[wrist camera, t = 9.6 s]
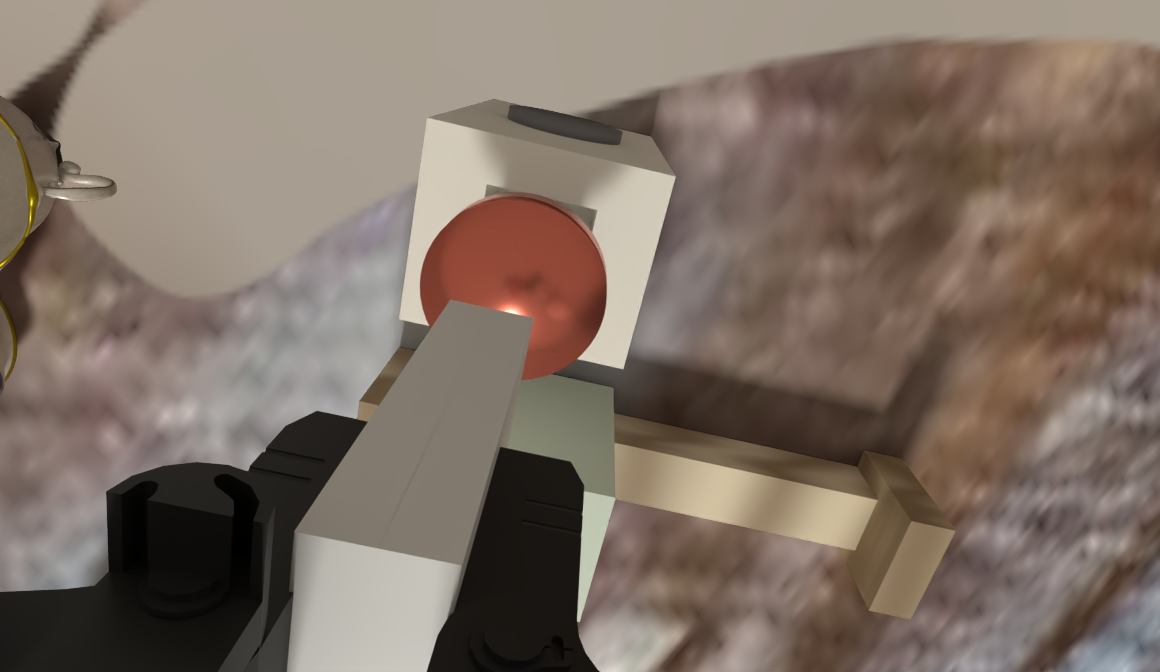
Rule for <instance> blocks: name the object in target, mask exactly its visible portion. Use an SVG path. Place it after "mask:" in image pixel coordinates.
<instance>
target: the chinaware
mask: <svg viewBox="0 0 1160 672" xmlns="http://www.w3.org/2000/svg"><path fill="white" fill-rule="evenodd" d="M60 148H61V144H60V142H59V141H57V140H55V139H54V142H52V141H49V140H48V139H47V138H46V137H45V136H44V134H43V133H42V132H41V130H40V129H39V128H38V127H37V125H36V124H35V123H34V122H33V121H32V120H31V119H30V118H29V117H28V116H27V115H26V114H25V113H24V112H23V111H21V110H20V109H19V108H18V107H17V106H15V105H14V104H12V103H11V102H9V101H8V100H6V99H5V98H3V97H1V96H0V271H1V269H2V268H3V267H4V266H5V265H7V264H8V263H9V262H10V261H11V260H12V258H13V257H14V256H15V254H16V253H17V252H18V250H19V249H20V248H21V246H22V245H23V243H24V242H25V240H26V237H28V235H29V234H30V233H32V232H33V231H34V230H35V229H36V228H37V227H38V226H39V225H40V224H41V223H42V222H43V221H44V219H45V218H46V217H47V216H48V214H49V212H50V211H51V209H52V206H53V204H54V201H55V198H60V199H65V200H70V201H94V200H101V199H105V198H108V197H111V196H113V195H114V194H115V193H116V191H117V187H116V183H115V182H114V181H113V180H111V179H108V178H105V177H102V176H95V175H79V174H80V170H81V168H80V167H79V165H77V164H75V163H73V162H70V161H64V162H63V160H62V155H61V151H60ZM63 180H66V181H69V182H73V183H78V184H87V185H96V186H101V187H94V188H60V187H59V185H60V186H61V185H63V184H64V181H63ZM16 357H17V337H16V332H15V328H14V324H13V321H12V319H11V316H10V314H9V312H8V310H7V308H6V306H5V304H4V303H3V301H2V299H1V298H0V395H1V393H2V391H3V388H4V383H5V381H6V380H7V379H8V377H9V376H10V374H11V372H12V370H13V368H14V365H15V362H16Z"/></svg>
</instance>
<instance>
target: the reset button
mask: <svg viewBox="0 0 1160 672" xmlns="http://www.w3.org/2000/svg"><path fill="white" fill-rule="evenodd" d="M420 298H421V303H422V308H423V312H424V315H425V318H426V320H427V322H428V324H429V327H430V329H431V328H432V326H433V325H434V323H435V322H436V320H437V319H438V317H439V316H440V314H441V313H442V311H443V310H444V308H445V307H446V305H447V304H448V302H449V301H450V300H454V301H459V302H464V303H468V304H473V305H477V306H482V307H486V308H491V309H496V310H500V311H505V312H509V313H514V314H518V315H523V316H528V317H532V318H534V321H533V326H532V330H531V335H530V340H529V345H528V350H527V355H526V359H525V364H524V369H523V374H522V379H521V380H530V379H536V378H540V377H544V376H547V375H550V374H553V373H555V372H557V371H559V370H561V369H563V368H565V367H567V366H568V365H570V364H571V363H573V362H574V361H575V360H576V359H577V358H579V357H580V356H581V355H582V354H583V353H584V352H585V351H586V349H587V348H588V347H589V346H590V344H591V343H592V341H593V340H594V338H595V337H596V335H597V333H598V331H599V329H600V327H601V324H602V321H603V318H604V314H605V309H606V301H607V274H606V265H605V261H604V257H603V254H602V251H601V248H600V246H599V244H598V242H597V240H596V238H595V236H594V235H593V233H592V232H591V230H590V229H589V228H588V226H587V225H586V224H585V223H584V222H583V221H582V220H581V219H580V218H579V217H578V216H577V215H576V214H575V213H573V212H572V211H571V210H570V209H568V208H567V207H565V206H563V205H562V204H560V203H558V202H556V201H554V200H552V199H550V198H547V197H544V196H540V195H537V194H532V193H526V192H507V193H499V194H495V195H491V196H488V197H485V198H482V199H480V200H478V201H476V202H474V203H472V204H470V205H469V206H467V207H466V208H465V209H463V210H462V211H461V212H459V213H458V214H457V215H456V216H455V217H454V218H453V219H452V220H451V221H450V222H449V223H448V224H447V225H446V226H445V227H444V228H443V229H442V230H441V231H440V232H439V234H438V235H437V236H436V238H435V239H434V240H433V242H432V244H431V245H430V247H429V249H428V251H427V253H426V256H425V259H424V261H423V265H422V270H421V275H420Z"/></svg>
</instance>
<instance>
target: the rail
mask: <svg viewBox="0 0 1160 672" xmlns="http://www.w3.org/2000/svg"><path fill="white" fill-rule="evenodd" d="M414 353H415V351H414V350H410V349H405V348H401V347H399V349H398V350H397V351H396V353H395V354H394V355H393V357H392V358H391V359H390V361H389V362H388V363H387V365H386V366H385V367H384V369H383V370H382V372H381V373H380V374H379V376H378V377H377V378H376V380H375V381H374V382H373V384H372V385H371V386H370V388H369V389H368V390H367V392H366V393H365V394H364V396H363V397H362V398H361V400H360V401H359V409H358V417H357V419H358V420H363V421H367V422H368V421H369V420H370V418H371V417H372V415H373V414H374V412H375V411H376V409H377V408H378V406H379V405H380V403H381V402H382V400H383V399H384V397H385V396H386V394H387V393H388V391H389V390H390V388H391V387H392V385H393V384H394V382H395V381H396V379H397V378H398V377H399V375H400V374H401V372H402V371H403V369H404V368H405V366H406V365H407V363H408V362H409V360H410V359H411V357H412V356H413V354H414ZM614 442H615V499H617V500H621V501H626V502H631V503H635V504H640V505H645V506H649V507H654V508H659V509H663V510H668V511H673V512H677V513H682V514H687V515H691V516H696V517H701V518H705V519H710V520H715V521H719V522H724V523H728V524H733V525H738V526H742V527H747V528H752V529H756V530H761V531H766V532H770V533H775V534H780V535H784V536H789V537H794V538H798V539H803V540H808V541H812V542H817V543H822V544H826V545H831V546H836V547H838V548H839V550H840V552H841V554H842V556H843V558H844V560H845V562H846V564H847V566H848V568H849V570H850V573H851V575H852V577H853V579H854V581H855V583H856V585H857V587H858V589H859V591H860V593H861V595H862V598H863V600H864V602H865V604H866V606H867V608H868V610H869V611H873V612H878V613H883V614H888V615H892V616H897V617H902V618H907V619H911V618H912V616H913V614H914V612H915V610H916V608H917V606H918V604H919V602H920V600H921V598H922V596H923V594H924V592H925V590H926V588H927V586H928V584H929V582H930V580H931V578H932V576H933V574H934V572H935V570H936V568H937V567H938V565H939V563H940V561H941V559H942V557H943V555H944V553H945V551H946V549H947V547H948V545H949V543H950V541H951V539H952V537H953V535H954V533H955V529H954V528H953V527H952V525H951V524H950V523H949V521H948V520H947V519H946V517H945V516H944V515H943V513H942V512H941V511H940V509H939V508H938V507H937V505H936V504H935V503H934V501H933V500H932V499H931V497H930V496H929V495H928V493H927V492H926V491H925V489H924V488H923V487H922V485H921V484H920V483H919V481H918V480H917V479H916V477H915V476H914V475H913V473H912V472H911V471H910V469H909V468H908V467H907V465H906V464H905V463H904V461H903V460H902V459H901V458H897V457H893V456H888V455H884V454H879V453H875V452H870V451H866V450H864V451H863V453H862V456H861V458H860V460H859V463H858V465H857V467H856V466H852V465H847V464H843V463H838V462H834V461H829V460H824V459H820V458H815V457H811V456H806V455H802V454H797V453H793V452H788V451H784V450H779V449H775V448H770V447H765V446H761V445H756V444H752V443H747V442H743V441H738V440H734V439H729V438H725V437H720V436H716V435H711V434H706V433H702V432H697V431H693V430H688V429H684V428H679V427H675V426H670V425H666V424H661V423H656V422H652V421H647V420H643V419H638V418H634V417H629V416H625V415H620V414H616V413H614Z"/></svg>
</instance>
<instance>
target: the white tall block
mask: <svg viewBox="0 0 1160 672" xmlns="http://www.w3.org/2000/svg"><path fill="white" fill-rule="evenodd" d="M675 178H676V176H675V174H674V173H673V171H672V170H671V168H670V166H669V165H668V163H667V162H666V160H665V158H664V157H663V155H662V154H661V152H660V150H659V149H658V147H657V146H656V144H655V142H654V141H653V139H652V138H651V137H650V136H646V135H642V134H638V133H634V132H630V131H625V130H621V129H617V128H613V127H610V126H607V125H604V124H601V123H598V122H594V121H590V120H587V119H583V118H579V117H575V116H571V115H567V114H563V113H558V112H553V111H549V110H544V109H539V108H533V107H527V106H520V105H517V104H512V103H508V102H504V101H500V100H496V99H492V100H489V101H485V102H482V103H478V104H474V105H471V106H467V107H464V108H460V109H457V110H453V111H449V112H446V113H442V114H439V115H435V116H432V117H428V118H427V124H426V131H425V138H424V145H423V152H422V159H421V166H420V173H419V180H418V188H417V195H416V202H415V209H414V216H413V223H412V230H411V237H410V244H409V252H408V259H407V266H406V273H405V280H404V287H403V294H402V301H401V308H400V316H399V319H400V320H405V321H409V322H414V323H418V324H423V325H427V326H429V324H428V322H427V320H426V318H425V315H424V312H423V308H422V303H421V298H420V275H421V270H422V265H423V261H424V259H425V256H426V253H427V251H428V249H429V247H430V245H431V244H432V242H433V240H434V239H435V238H436V236H437V235H438V234H439V232H440V231H441V230H442V229H443V228H444V227H445V226H446V225H447V224H448V223H449V222H450V221H451V220H452V219H453V218H454V217H455V216H456V215H457V214H458V213H459V212H461V211H462V210H463V209H465V208H466V207H467V206H469V205H470V204H472V203H474V202H476V201H478V200H480V199H482V198H485V197H488V196H491V195H495V194H499V193H507V192H526V193H532V194H537V195H540V196H544V197H547V198H550V199H552V200H554V201H556V202H558V203H560V204H562V205H563V206H565V207H567V208H568V209H570V210H571V211H572V212H573V213H575V214H576V215H577V216H578V217H579V218H580V219H581V220H582V221H583V222H584V223H585V224H586V225H587V226H588V228H589V229H590V230H591V232H592V233H593V235H594V236H595V238H596V240H597V242H598V244H599V246H600V248H601V251H602V254H603V257H604V261H605V265H606V274H607V301H606V309H605V314H604V318H603V321H602V324H601V327H600V329H599V331H598V333H597V335H596V337H595V338H594V340H593V341H592V343H591V344H590V346H589V347H588V348H587V349H586V351H585V352H584V353H583V354H582V355H581V356H580V357H579V358H577V359H579V360H584V361H588V362H593V363H597V364H602V365H606V366H611V367H615V368H620V369H624V365H625V361H626V358H627V354H628V350H629V347H630V343H631V339H632V336H633V332H634V328H635V324H636V321H637V317H638V313H639V310H640V306H641V302H642V299H643V295H644V291H645V288H646V284H647V280H648V277H649V273H650V269H651V266H652V262H653V258H654V255H655V251H656V247H657V244H658V240H659V236H660V233H661V229H662V225H663V222H664V218H665V214H666V211H667V207H668V203H669V200H670V196H671V192H672V189H673V185H674V181H675Z"/></svg>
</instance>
